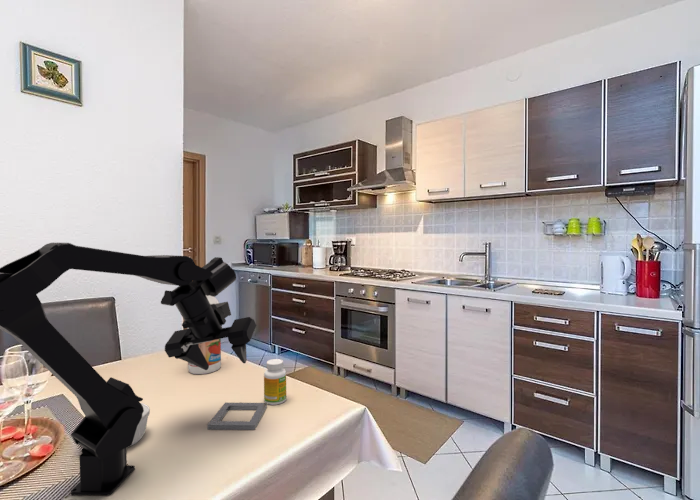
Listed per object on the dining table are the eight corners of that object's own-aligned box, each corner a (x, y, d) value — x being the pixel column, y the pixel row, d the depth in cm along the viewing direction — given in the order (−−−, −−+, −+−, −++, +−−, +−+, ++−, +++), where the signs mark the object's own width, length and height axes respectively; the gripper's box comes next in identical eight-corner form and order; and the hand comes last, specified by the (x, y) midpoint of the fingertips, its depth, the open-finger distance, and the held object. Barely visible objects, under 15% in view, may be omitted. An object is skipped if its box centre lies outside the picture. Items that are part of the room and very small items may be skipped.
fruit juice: (191, 365, 112) (189, 277, 111) (222, 362, 114) (221, 276, 113) (184, 376, 103) (182, 280, 102) (219, 373, 105) (217, 279, 104)
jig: (254, 429, 74) (254, 425, 74) (207, 429, 74) (207, 424, 74) (266, 406, 84) (266, 402, 84) (225, 406, 84) (225, 402, 84)
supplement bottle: (281, 406, 84) (280, 366, 84) (260, 404, 85) (259, 364, 85) (289, 396, 89) (289, 358, 89) (269, 394, 90) (269, 357, 90)
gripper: (249, 280, 78) (273, 334, 85) (173, 296, 81) (202, 347, 87) (233, 310, 68) (261, 369, 75) (147, 327, 71) (182, 382, 78)
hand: (226, 365), depth 79 cm, fingers open, 9 cm apart
